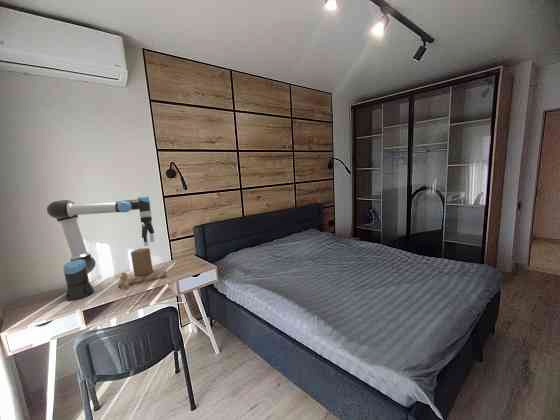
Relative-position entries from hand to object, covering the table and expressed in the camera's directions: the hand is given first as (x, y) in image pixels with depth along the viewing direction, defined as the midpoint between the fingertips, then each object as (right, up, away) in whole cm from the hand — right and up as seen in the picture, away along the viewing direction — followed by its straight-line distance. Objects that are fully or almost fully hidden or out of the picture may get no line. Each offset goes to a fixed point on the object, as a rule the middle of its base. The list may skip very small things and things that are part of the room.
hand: (149, 243), depth 196 cm
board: (-1, -27, -6) cm, 27 cm away
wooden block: (-9, -26, +9) cm, 29 cm away
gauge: (-9, -28, -15) cm, 33 cm away
